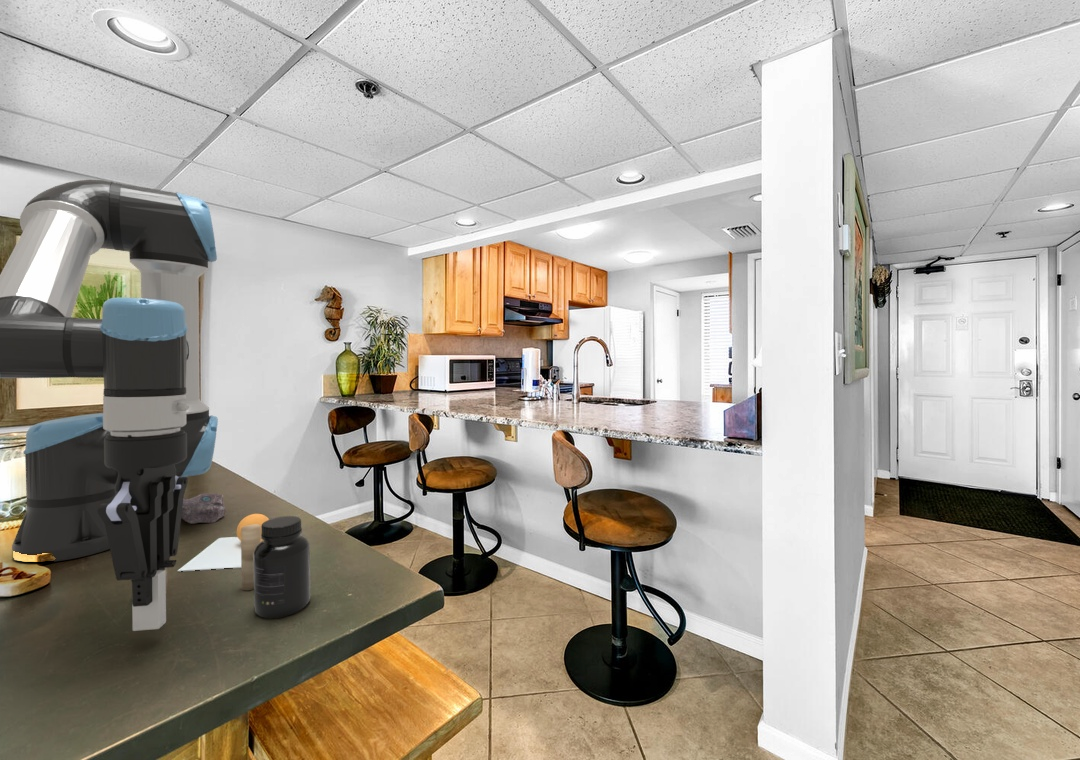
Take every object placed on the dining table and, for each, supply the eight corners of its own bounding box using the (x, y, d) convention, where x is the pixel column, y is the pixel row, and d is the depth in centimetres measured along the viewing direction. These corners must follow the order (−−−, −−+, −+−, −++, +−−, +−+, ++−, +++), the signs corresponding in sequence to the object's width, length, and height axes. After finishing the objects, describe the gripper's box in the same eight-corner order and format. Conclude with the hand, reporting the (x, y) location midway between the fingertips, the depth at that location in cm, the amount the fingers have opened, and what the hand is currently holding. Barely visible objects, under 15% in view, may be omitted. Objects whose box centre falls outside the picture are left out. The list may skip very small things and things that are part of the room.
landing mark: (219, 538, 88) (219, 537, 88) (299, 534, 91) (299, 533, 91) (177, 571, 74) (177, 570, 74) (273, 565, 77) (273, 564, 77)
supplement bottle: (273, 593, 68) (273, 512, 68) (319, 595, 68) (319, 513, 68) (241, 619, 61) (241, 529, 61) (293, 621, 61) (292, 530, 61)
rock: (183, 529, 93) (183, 506, 93) (171, 516, 100) (171, 495, 100) (231, 520, 99) (231, 498, 99) (216, 508, 107) (216, 488, 106)
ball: (246, 520, 89) (236, 510, 85) (278, 519, 90) (269, 508, 86) (239, 550, 86) (228, 540, 82) (271, 547, 87) (262, 538, 83)
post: (245, 583, 71) (245, 524, 71) (263, 581, 72) (263, 524, 71) (238, 591, 69) (238, 530, 68) (257, 589, 69) (257, 529, 69)
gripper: (149, 439, 50) (151, 656, 50) (210, 423, 62) (211, 596, 63) (65, 440, 48) (70, 664, 49) (145, 423, 61) (147, 601, 62)
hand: (149, 626), depth 56 cm, fingers closed
